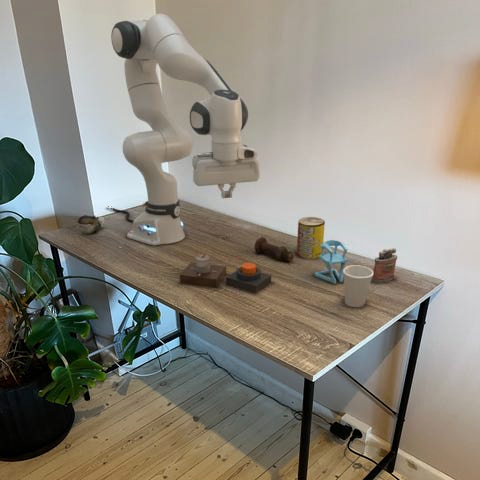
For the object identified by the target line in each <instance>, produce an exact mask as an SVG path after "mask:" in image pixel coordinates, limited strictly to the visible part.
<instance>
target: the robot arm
mask: <svg viewBox="0 0 480 480" xmlns="http://www.w3.org/2000/svg"><path fill="white" fill-rule="evenodd" d="M110 36H111V37H110V39H111V45H112V48H113V50H114V53H116V55H117V56H118V57H119V58H122V59H125V60H124V64H123V67H124V77H125V83H126V88H127V92H128V96H129V100H130V104H131V108H132V112H133V115H134V116H135V117H136V118H137V119H138V120H140V121H142V122H144V123H146V124H147V125H149V127H150V128H151V130H146V131H138V132H135V133H132V134H130V135H127V136H125V138H124V140H123V142H122V153H123V154H122V155H123V157H124V158H125V160H126V161H127V162H128V163H129V164H130V165H132V166H133V167H135V168H136V169H137V170H138V171H139V172H140V174H141V175H142V178H143V180H144V182H145V188H146V193H147V194H146V195H147V201H145V202H144V203H142V204H141V205H142V207H143V208H144V207H145V208H144V211H143V212H142V213H141V214H139V215H138V216H137V217H136V218H134V220H133V219H131V218H129V217H130V212H129V211H128V210H122V209H116V208H115V207H113V209H112V208H110V209H111V210H113V211H114V212H118V213H123V214H126V215H125V219H126V220H127V221H128V222H130V223H132V229H131V230H129V232H127V235H126V237H127V238H128V239H130V240H134V241H137V242H140V243H143V244H147V245H149V246H159V245H166V244H167V245H169V244H174V243H178V242H180V241H183V240H184V239H185V238H186V234H185V231H184V228H183V227H184V223H183V222H182V219H181V203H180V200H179V191H178V190H179V189H178V182H177V179H176V178H175V176H174V175H172V174H171V173H169V172H166V171H164V169H163V167H162V164H164V163H170V162H176V161H180V160H183V159H186V158H187V157H189V156H191V154H192V151H193V147H194V143H193V138H192V135H191V134H190V133H189V132H188V130H187V129H185V128H183V127H182V126H180V125H179V124H178V123H177V122H176V121H175V120H174V119H173V118H172V115H171V114H170V112H169V111H168V109H167V106H166V103H165V99H164V96H163V92H162V88H161V83H160V81H159V77H158V73H157V65H158V67H159V68H160V70H161V71H162V72H164V75H166V76H167V77H169V78H171V79H173V80H178V81H184V82H189V83H193V84H196V85H199V86H200V87H203V88H204V89H205V90H206V91H207V93H208V94H209V95H210V96H208V97H207V98H205V99H203V100H199V101H195V102H194V103H193V104H192V106H191V108H190V111H189V123H190V127H191V128H192V130H193V131H194V132H195V133H196V134H198V135H200V136H211V151H209V152H197V153H196V154H195V155H194V156H193V157H192V159H191V160H192V161H191V162H192V164H191V165H192V167H193V173H192V175H193V176H192V181H193V183H194V184H195V185H196V186H197V187H205V186H217V187H218V189H219V190H220V192H221V195H220V196H221V198H222V199H231V198H233V192H234V190H235V189H236V187H237V184H243V183H253V182H258V181H259V179H260V176H261V171H260V162H259V160H258V159H257V157H258V151H257V150H256V149H255V148H254V147H252V146H250V145H248V144H247V145H246V144H243V140H242V136H241V132H242V130H243V129H244V128H245V126H246V125H247V122H248V119H249V110H248V107H247V105H246V104H245V102H244V101H243V99H242V98H241V97H240V95H239V94H238V93H237V92H236V91H233V90H232V89H231V88H230V87H229V85H228V84H227V82H226V81H225V80H224V79H223V77H222V76H221V75H220V73H219V72H218V71H217V69H216V68H215V67H214V66H213V64H211V62H210V61H208V60H207V59H206V58H205V57H203V56H202V55H201V54H200V53H198V52H197V51H196V49H194V48H193V46H192V45H191V44H190V43H189V41H187V39H186V37H185V35H184V34H183V32H182V31H181V29H180V28H179V26H178V25H177V24H176V23H175V21H174V20H173V19H171V17H170V16H169V15H167V14H164V13H155V14H153V15H151V16H150V17H149V18H148V19H142V20H130V21H129V20H122V21H118V22H116V23H115V24H114V25H113V27H112V30H111V34H110ZM225 185H229V188H228V190H224V188H225Z"/></svg>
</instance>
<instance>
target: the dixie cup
mask: <svg viewBox="0 0 480 480" xmlns="http://www.w3.org/2000/svg"><path fill="white" fill-rule="evenodd" d="M343 273H344V274H343V291H344V293H343V294H344V304H345V305H346V306H348V307H351V308H361V307H363V306H365V303H366V300H367V296H368V293H369V290H370V285H371V283H372V278H373V274H374V270H373V269H372V268H370V267H368V266H364V265H359V264H353V265H348V266H345V268H344V270H343Z"/></svg>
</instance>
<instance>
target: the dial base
mask: <svg viewBox="0 0 480 480" xmlns="http://www.w3.org/2000/svg"><path fill="white" fill-rule="evenodd" d="M226 277H227V266H225V265H219V264H210V271H209V272H207V273H199V272H197V271H196V262H190V263H189V264H188V265H187V266H186V267H185V269H184V270H183V271H182V272H181V273H180V274H179V283H180V284H184V285H191V286H200V287H206V288H207V287H208V288H216V289H217V288H218V286H219V285H221V282H222V281H223V280H224V278H226Z"/></svg>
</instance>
